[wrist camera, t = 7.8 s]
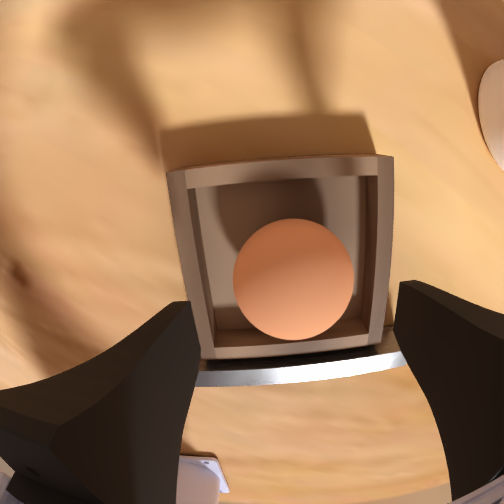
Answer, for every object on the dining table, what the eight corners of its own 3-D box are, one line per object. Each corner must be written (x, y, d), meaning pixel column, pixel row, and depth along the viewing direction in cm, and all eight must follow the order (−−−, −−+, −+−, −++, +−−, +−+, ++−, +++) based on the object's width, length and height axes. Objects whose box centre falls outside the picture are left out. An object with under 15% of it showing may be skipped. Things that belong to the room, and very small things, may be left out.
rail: (200, 358, 18) (193, 386, 15) (196, 343, 17) (189, 371, 15) (391, 340, 17) (405, 365, 15) (394, 324, 17) (409, 349, 14)
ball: (242, 306, 16) (237, 370, 11) (230, 212, 14) (217, 248, 9) (336, 297, 16) (364, 356, 11) (336, 203, 14) (374, 233, 9)
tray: (207, 337, 17) (201, 359, 15) (177, 168, 14) (166, 172, 12) (369, 323, 17) (380, 343, 15) (376, 153, 13) (393, 156, 11)
